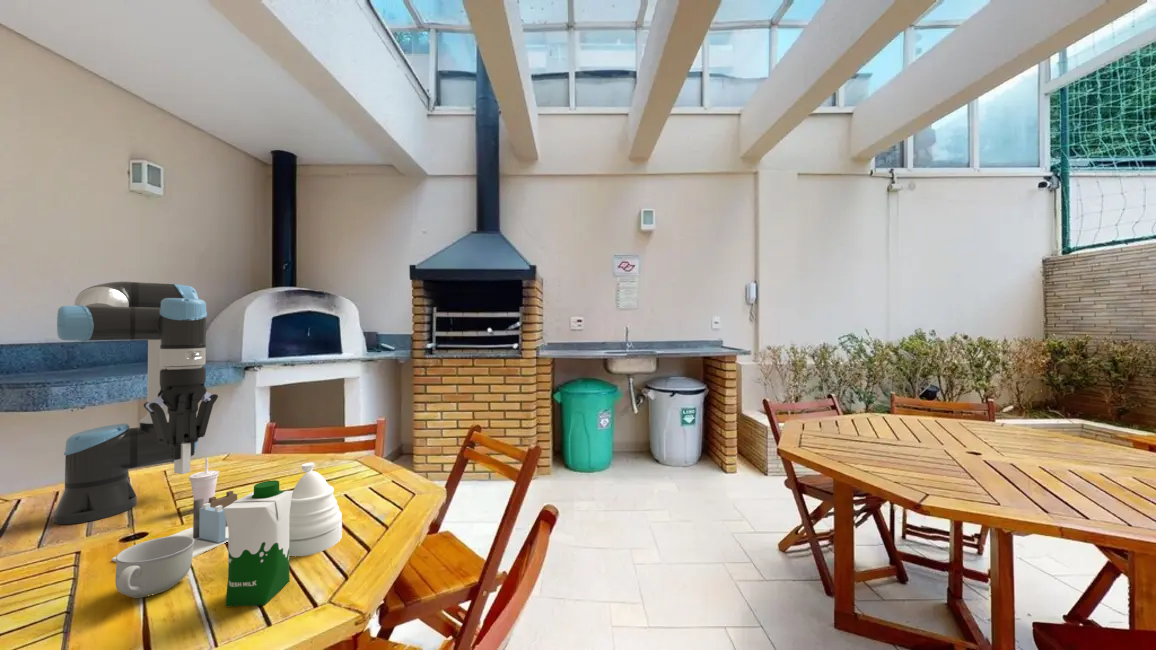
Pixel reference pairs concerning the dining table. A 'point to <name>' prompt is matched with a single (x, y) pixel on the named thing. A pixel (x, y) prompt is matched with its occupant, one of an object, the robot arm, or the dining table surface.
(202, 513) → the fence panel
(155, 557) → the teacup
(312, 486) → the honey pot
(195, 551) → the card
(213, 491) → the smoothie
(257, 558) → the milk carton
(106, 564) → the dining table surface
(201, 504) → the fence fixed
